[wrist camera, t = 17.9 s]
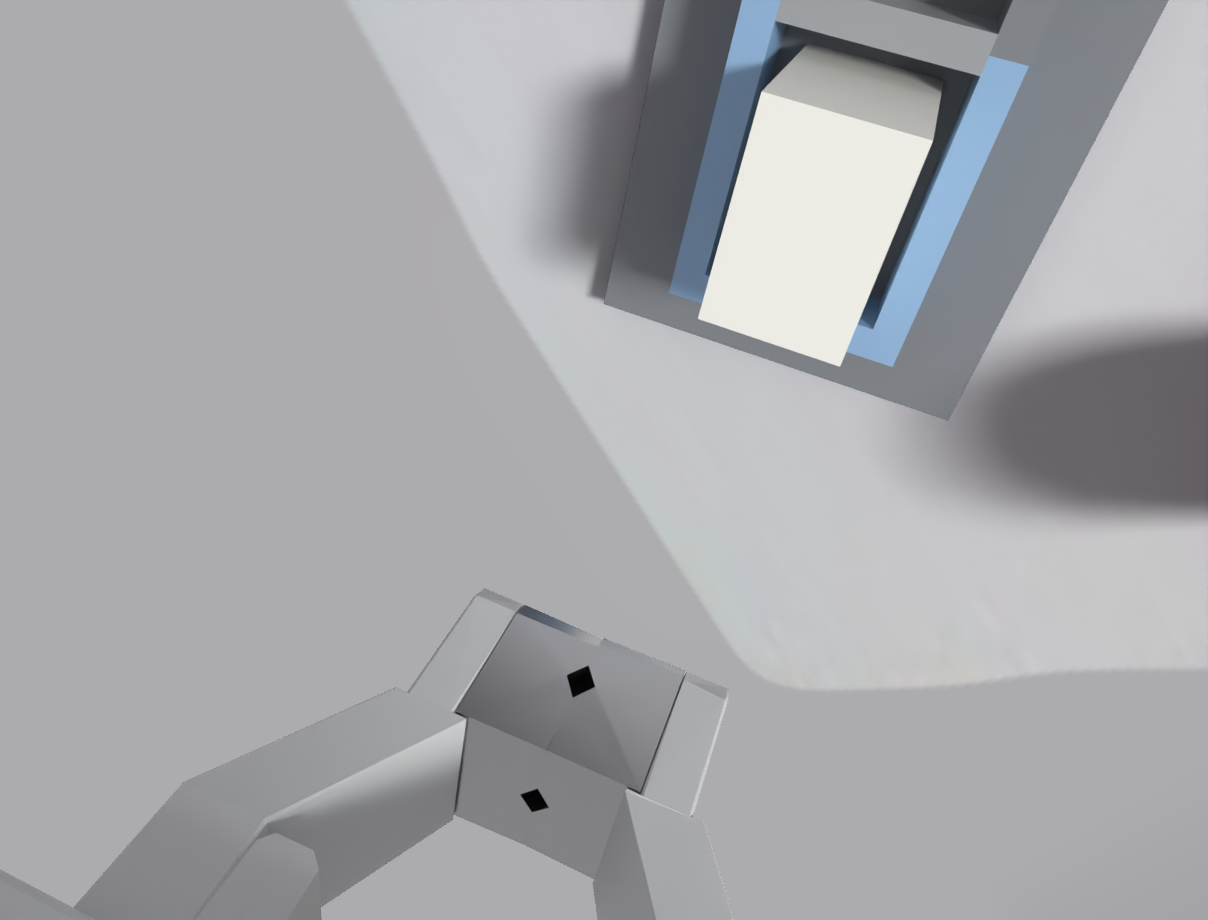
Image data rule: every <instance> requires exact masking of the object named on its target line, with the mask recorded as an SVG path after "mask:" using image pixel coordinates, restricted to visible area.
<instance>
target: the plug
mask: <svg viewBox="0 0 1208 920" xmlns="http://www.w3.org/2000/svg"><path fill="white" fill-rule="evenodd" d="M943 82H944V80H942V79H938V78H934V77H931V76H927V75H923V74H920V73H916V72H912V71H909V70H905V69H902V68H898V67H894V66H891V65H887V64H883V63H880V62H876V61H872V60H869V59H865V58H861V57H858V56H854V55H851V54H847V53H843V52H840V51H836V50H832V49H829V48H825V47H821V46H818V45H814V44H811V43H808V44H807V45H806V46H805V47H804V48H803V49H802V50H801V51H800V52H799V53H798V55H797V56H796V57H795V58H794V59H793V60H792V61H791V62H790V63H789V64H788V65H787V66H786V67H785V68H784V69H783V70H782V71H781V72H780V73H779V74H778V75H777V76H776V77H775V78H774V79H773V80H772V81H771V82H770V83H769V84H768V85H767V86H766V87H765V88H764V90H763V91H762V92H761V95H760V99H759V102H758V106H757V110H756V113H755V117H754V120H753V124H752V127H751V131H750V134H749V138H748V142H747V145H746V149H745V152H744V156H743V159H742V163H741V167H740V170H739V174H738V177H737V181H736V184H735V188H734V191H733V195H732V199H731V202H730V206H729V209H728V213H727V216H726V220H725V223H724V227H723V231H722V234H721V238H720V241H719V245H718V248H717V252H716V256H715V259H714V263H713V266H712V270H711V273H710V277H709V280H708V284H707V288H706V291H705V295H704V298H703V302H702V305H701V309H700V313H699V316H698V319H700V320H703V321H706V322H709V323H712V324H715V325H718V326H721V327H724V328H726V329H729V330H732V331H735V332H738V333H741V334H744V335H747V336H750V337H753V338H756V339H759V340H762V341H765V342H768V343H771V344H774V345H777V346H780V347H783V348H786V349H789V350H792V351H795V352H798V353H801V354H804V355H807V356H809V357H812V358H815V359H818V360H821V361H824V362H827V363H830V364H833V365H836V366H839V367H840V366H841V363H842V361H843V358H844V356H845V353H846V351H847V349H848V346H849V344H850V341H851V339H852V336H853V334H854V332H855V329H856V327H857V324H858V322H859V319H860V317H861V315H862V312H863V310H864V307H865V305H866V302H867V300H868V298H869V295H870V293H871V290H872V288H873V285H874V283H875V281H876V278H877V276H878V273H879V271H880V269H881V266H882V264H883V261H884V259H885V256H886V254H887V252H888V249H889V247H890V244H891V242H892V239H893V237H894V235H895V232H896V230H897V227H898V225H899V222H900V220H901V218H902V215H903V213H904V210H905V208H906V205H907V203H908V201H909V198H910V196H911V193H912V191H913V188H914V186H915V184H916V181H917V179H918V176H919V174H920V171H921V169H922V167H923V164H924V162H925V159H926V157H927V154H928V152H929V150H930V147H931V145H932V142H933V139H934V133H935V127H936V122H937V116H938V110H939V104H940V99H941V93H942V87H943Z"/></svg>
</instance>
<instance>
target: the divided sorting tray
mask: <svg viewBox="0 0 1208 920" xmlns="http://www.w3.org/2000/svg"><path fill="white" fill-rule="evenodd" d="M1167 2H1168V0H665V1H664V6H663V11H662V16H661V21H660V26H659V31H658V36H657V41H656V46H655V51H654V56H653V61H652V66H651V71H650V76H649V81H648V86H647V91H646V96H645V101H644V106H643V111H642V116H641V121H640V126H639V131H638V136H637V141H636V146H635V151H634V156H633V161H632V166H631V171H630V176H629V181H628V186H627V191H626V196H625V201H624V206H623V211H622V216H621V221H620V226H619V231H618V236H617V241H616V246H615V251H614V256H613V261H612V266H611V271H610V276H609V281H608V286H607V291H606V296H605V301H604V304H606V305H609V306H612V307H615V308H617V309H620V310H623V311H626V312H629V313H632V314H635V315H638V316H641V317H644V318H647V319H650V320H653V321H656V322H659V323H662V324H665V325H668V326H671V327H674V328H676V329H679V330H682V331H685V332H688V333H691V334H694V335H697V336H700V337H703V338H706V339H709V340H712V341H715V342H718V343H721V344H724V345H727V346H730V347H733V348H735V349H738V350H741V351H744V352H747V353H750V354H753V355H756V356H759V357H762V358H765V359H768V360H771V361H774V362H777V363H780V364H783V365H786V366H789V367H792V368H794V369H797V370H800V371H803V372H806V373H809V374H812V375H815V376H818V377H821V378H824V379H827V380H830V381H833V382H836V383H839V384H842V385H845V386H848V387H851V388H854V389H856V390H859V391H862V392H865V393H868V394H871V395H874V396H877V397H880V398H883V399H886V400H889V401H892V402H895V403H898V404H901V405H904V406H907V407H910V408H913V409H915V410H918V411H921V412H924V413H927V414H930V415H933V416H936V417H939V418H942V419H945V420H949V418H950V416H951V414H952V412H953V410H954V408H955V407H956V405H957V403H958V401H959V399H960V397H961V395H962V393H963V391H964V389H965V387H966V386H967V384H968V382H969V380H970V378H971V376H972V374H973V372H974V370H975V368H976V367H977V365H978V363H979V361H980V359H981V357H982V355H983V353H984V351H985V349H986V347H987V346H988V344H989V342H990V340H991V338H992V336H993V334H994V332H995V330H996V328H997V326H998V325H999V323H1000V321H1001V319H1002V317H1003V315H1004V313H1005V311H1006V309H1007V307H1008V305H1009V304H1010V302H1011V300H1012V298H1013V296H1014V294H1015V292H1016V290H1017V288H1018V286H1019V284H1020V283H1021V281H1022V279H1023V277H1024V275H1025V273H1026V271H1027V269H1028V267H1029V265H1030V264H1031V262H1032V260H1033V258H1034V256H1035V254H1036V252H1037V250H1038V248H1039V246H1040V244H1041V243H1042V241H1043V239H1044V237H1045V235H1046V233H1047V231H1048V229H1049V227H1050V225H1051V223H1052V222H1053V220H1054V218H1055V216H1056V214H1057V212H1058V210H1059V208H1060V206H1061V204H1062V202H1063V201H1064V199H1065V197H1066V195H1067V193H1068V191H1069V189H1070V187H1071V185H1072V183H1073V182H1074V180H1075V178H1076V176H1077V174H1078V172H1079V170H1080V168H1081V166H1082V164H1083V162H1084V161H1085V159H1086V157H1087V155H1088V153H1089V151H1090V149H1091V147H1092V145H1093V143H1094V141H1095V140H1096V138H1097V136H1098V134H1099V132H1100V130H1101V128H1102V126H1103V124H1104V122H1105V120H1106V119H1107V117H1108V115H1109V113H1110V111H1111V109H1112V107H1113V105H1114V103H1115V101H1116V100H1117V98H1118V96H1119V94H1120V92H1121V90H1122V88H1123V86H1124V84H1125V82H1126V80H1127V79H1128V77H1129V75H1130V73H1131V71H1132V69H1133V67H1134V65H1135V63H1136V61H1137V59H1138V58H1139V56H1140V54H1141V52H1142V50H1143V48H1144V46H1145V44H1146V42H1147V40H1148V38H1149V37H1150V35H1151V33H1152V31H1153V29H1154V27H1155V25H1156V23H1157V21H1158V19H1159V18H1160V16H1161V14H1162V12H1163V10H1164V8H1165V6H1166V4H1167ZM808 43H811V44H814V45H818V46H821V47H825V48H829V49H832V50H836V51H840V52H843V53H847V54H851V55H854V56H858V57H861V58H865V59H869V60H872V61H876V62H880V63H883V64H887V65H891V66H894V67H898V68H902V69H905V70H909V71H912V72H916V73H920V74H923V75H927V76H931V77H934V78H938V79H942V80H944V82H943V87H942V93H941V99H940V104H939V110H938V116H937V122H936V127H935V133H934V139H933V142H932V145H931V147H930V150H929V152H928V154H927V157H926V159H925V162H924V164H923V167H922V169H921V171H920V174H919V176H918V179H917V181H916V184H915V186H914V188H913V191H912V193H911V196H910V198H909V201H908V203H907V205H906V208H905V210H904V213H903V215H902V218H901V220H900V222H899V225H898V227H897V230H896V232H895V235H894V237H893V239H892V242H891V244H890V247H889V249H888V252H887V254H886V256H885V259H884V261H883V264H882V266H881V269H880V271H879V273H878V276H877V278H876V281H875V283H874V285H873V288H872V290H871V293H870V295H869V298H868V300H867V302H866V305H865V307H864V310H863V312H862V315H861V317H860V319H859V322H858V324H857V327H856V329H855V332H854V334H853V336H852V339H851V341H850V344H849V346H848V349H847V351H846V353H845V356H844V358H843V361H842V363H841V366H840V367H839V366H836V365H833V364H830V363H827V362H824V361H821V360H818V359H815V358H812V357H809V356H807V355H804V354H801V353H798V352H795V351H792V350H789V349H786V348H783V347H780V346H777V345H774V344H771V343H768V342H765V341H762V340H759V339H756V338H753V337H750V336H747V335H744V334H741V333H738V332H735V331H732V330H729V329H726V328H724V327H721V326H718V325H715V324H712V323H709V322H706V321H703V320H700V319H698V316H699V313H700V309H701V305H702V302H703V298H704V295H705V291H706V288H707V284H708V280H709V277H710V273H711V270H712V266H713V263H714V259H715V256H716V252H717V248H718V245H719V241H720V238H721V234H722V231H723V227H724V223H725V220H726V216H727V213H728V209H729V206H730V202H731V199H732V195H733V191H734V188H735V184H736V181H737V177H738V174H739V170H740V167H741V163H742V159H743V156H744V152H745V149H746V145H747V142H748V138H749V134H750V131H751V127H752V124H753V120H754V117H755V113H756V110H757V106H758V102H759V99H760V95H761V92H762V91H763V90H764V88H765V87H766V86H767V85H768V84H769V83H770V82H771V81H772V80H773V79H774V78H775V77H776V76H777V75H778V74H779V73H780V72H781V71H782V70H783V69H784V68H785V67H786V66H787V65H788V64H789V63H790V62H791V61H792V60H793V59H794V58H795V57H796V56H797V55H798V53H799V52H800V51H801V50H802V49H803V48H804V47H805V46H806V45H807V44H808Z"/></svg>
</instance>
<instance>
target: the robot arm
mask: <svg viewBox="0 0 1208 920" xmlns="http://www.w3.org/2000/svg"><path fill="white" fill-rule="evenodd" d="M684 673H685V670H683V669H681V668H678V667H676V666H673V665H671V664H668V663H666V662H663V661H661V660H658V659H655V658H653V657H650V656H648V655H645V654H643V653H640V652H638V651H635V650H632V649H630V648H628V647H625V646H622V645H620V644H618V643H615V642H612V641H610V640H607V639H605V638H604V639H601V638H599V637H596V636H594V635H592V634H589V633H587V632H585V631H583V630H580V629H578V628H576V627H574V626H571V625H569V624H567V623H565V622H562V621H560V620H558V619H555V618H553V617H551V616H549V615H546V614H544V613H542V612H539V611H537V610H535V609H533V608H530V607H528V606H526V605H523V604H521V603H518V602H516V601H513V600H511V599H509V598H506V597H504V596H502V595H499V594H497V593H495V592H492V591H490V590H488V589H483V590H482V591H481V592H480V593H478V594H477V595H476V596H474V597H473V599H472V600H471V602H470V603H469V605H468V606H467V607H466V609H465V610H464V612H463V613H462V615H461V617H460V618H459V619H458V620H457V622H456V623H455V625H454V626H453V628H452V629H451V631H450V632H449V633H448V635H447V636H446V638H445V639H444V640H443V642H442V643H441V645H440V646H439V648H438V649H437V651H436V652H435V653H434V655H433V656H432V658H431V659H430V661H429V662H428V663H427V665H426V667H425V668H424V669H423V671H422V672H421V673H420V675H419V676H418V678H417V679H416V681H415V682H414V684H413V685H412V687H411V688H410V690H409V691H408V692H406V691H403V690H401V689H398V688H396V687H395V688H393V689H391V690H389V691H387V692H384V693H382V694H380V695H377V696H375V697H373V698H371V699H369V700H366V701H364V702H362V703H359V704H357V705H355V706H353V707H351V708H348V709H346V710H344V711H342V712H339V713H337V714H335V715H333V716H330V717H328V718H326V719H324V720H321V721H319V722H317V723H315V724H313V725H310V726H308V727H306V728H304V729H301V730H299V731H297V732H295V733H293V734H291V735H288V736H286V737H283V738H281V739H279V740H277V741H275V742H272V743H270V744H268V745H266V746H263V747H261V748H259V749H257V750H254V751H252V752H250V753H248V754H245V755H243V756H241V757H239V758H237V759H234V760H232V761H230V762H228V763H225V764H223V765H221V766H219V767H216V768H214V769H212V770H210V771H207V772H205V773H203V774H201V775H198V776H196V777H194V778H192V779H190V780H188V781H185V782H183V783H182V785H180V787H179V788H178V789H177V790H176V791H175V792H174V793H173V795H172V796H171V797H170V798H169V799H168V800H167V801H166V803H165V804H164V805H163V806H162V807H161V809H159V811H158V812H157V813H156V814H155V815H154V816H153V817H152V819H151V820H150V821H149V822H148V823H147V824H146V825H145V827H144V828H143V829H142V830H141V831H140V832H139V833H138V835H137V836H136V837H135V838H134V839H133V840H132V841H131V843H130V844H129V845H128V846H127V847H126V848H125V849H124V850H123V852H122V853H121V854H120V855H119V856H118V857H117V858H116V860H115V861H114V862H113V863H112V864H111V865H110V867H109V868H108V869H107V870H106V871H105V872H104V873H103V875H102V876H101V877H100V878H99V879H98V880H97V881H96V882H95V884H94V885H93V886H92V887H91V888H90V889H89V890H88V892H87V893H86V894H85V895H84V896H83V897H82V898H81V900H80V901H79V902H78V903H77V904H76V905H75V906H74V908H73V907H71V906H69V905H67V904H65V903H63V902H61V901H59V900H57V899H55V898H54V897H52V896H50V895H48V894H46V893H44V892H42V891H40V890H38V889H36V888H34V887H33V886H31V885H29V884H27V883H25V882H23V881H21V880H19V879H17V878H15V877H14V876H12V875H10V874H8V873H6V872H4V871H2V870H0V920H321V907H322V906H323V905H325V904H326V903H328V902H329V901H331V900H332V899H334V898H335V897H337V896H339V895H340V894H341V893H343V892H345V891H346V890H347V889H349V888H351V887H352V886H354V885H355V884H357V883H358V882H360V881H361V880H363V879H364V878H366V877H367V876H369V875H370V874H372V873H373V872H375V871H376V870H378V869H379V868H381V867H382V866H383V865H385V864H387V863H388V862H390V861H391V860H393V859H394V858H396V857H397V856H399V855H400V854H402V853H403V852H405V851H406V850H408V849H409V848H411V847H412V846H414V845H415V844H417V843H418V842H420V841H421V840H423V839H424V838H426V837H427V836H429V835H430V834H432V833H433V832H435V831H436V830H438V829H439V828H441V827H443V826H444V825H446V824H447V823H449V822H450V821H452V820H453V814H454V815H456V816H458V817H461V818H463V819H465V820H468V821H470V822H473V823H475V824H477V825H480V826H482V827H484V828H486V829H489V830H491V831H494V832H496V833H498V834H501V835H503V836H505V837H508V838H510V839H513V840H515V841H517V842H519V843H522V844H525V845H526V846H528V847H530V848H532V849H534V850H536V851H538V852H540V853H542V854H544V855H546V856H548V857H550V858H552V859H554V860H556V861H558V862H560V863H562V864H564V865H566V866H568V867H570V868H573V869H574V870H577V871H579V872H581V873H583V874H585V875H587V876H589V877H591V878H593V879H594V881H593V889H594V896H595V903H596V911H597V918H598V920H734V918H733V915H732V911H731V908H730V905H729V901H728V898H727V894H726V891H725V888H724V884H723V881H722V878H721V874H720V871H719V868H718V864H717V861H716V858H715V854H714V850H713V847H712V844H711V841H710V837H709V834H708V830H707V827H706V824H705V823H703V822H701V821H699V820H697V819H695V818H693V813H694V810H695V807H696V803H697V800H698V797H699V794H700V790H701V787H702V784H703V781H704V777H705V774H706V771H707V767H708V764H709V760H710V758H711V754H712V751H713V748H714V744H715V741H716V738H717V735H718V731H719V728H720V725H721V721H722V718H723V715H724V711H725V708H726V705H727V702H728V698H729V689H728V688H725V687H723V686H721V685H718V684H716V683H713V682H710V681H708V680H706V679H703V678H701V677H698V676H696V675H694V674H691V673H688V672H686V673H685V675H684ZM683 676H684V677H683ZM682 679H683V680H682ZM678 690H679V691H678ZM675 698H676V699H675Z"/></svg>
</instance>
